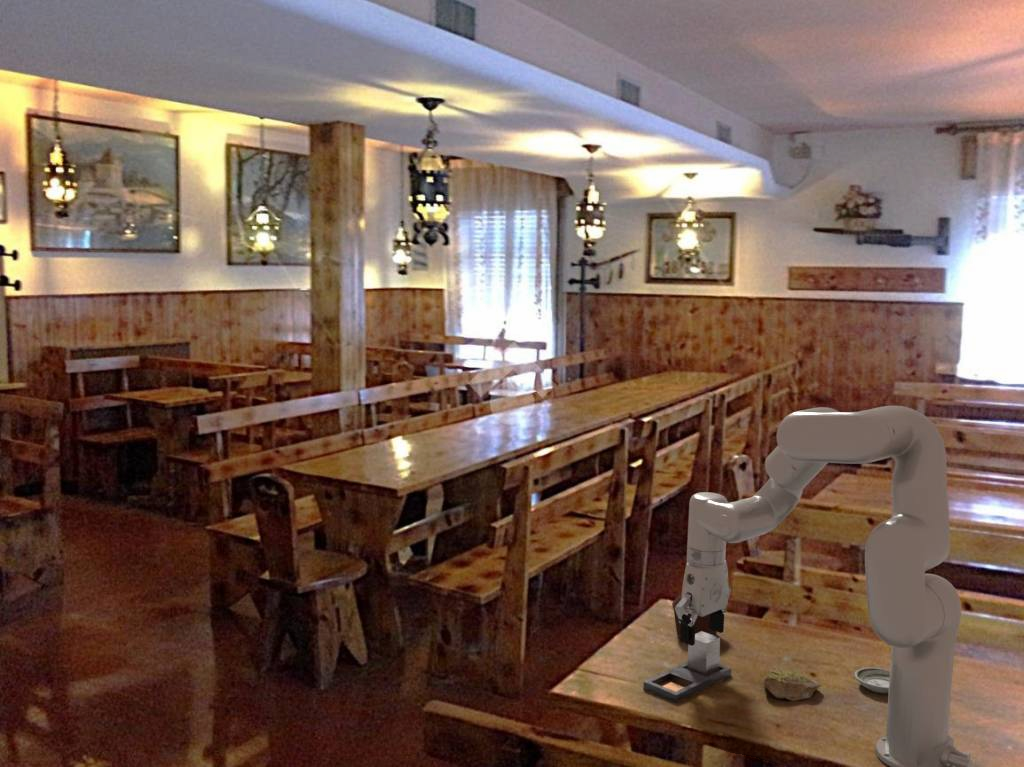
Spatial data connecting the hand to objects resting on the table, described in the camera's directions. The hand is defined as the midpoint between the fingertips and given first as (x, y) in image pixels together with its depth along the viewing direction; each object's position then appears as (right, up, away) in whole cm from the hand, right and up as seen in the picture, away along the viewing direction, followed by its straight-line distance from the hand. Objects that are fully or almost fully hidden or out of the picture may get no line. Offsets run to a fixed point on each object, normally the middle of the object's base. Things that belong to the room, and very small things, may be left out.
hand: (701, 636), depth 193 cm
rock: (+16, -9, -6) cm, 20 cm away
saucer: (+34, -9, -5) cm, 36 cm away
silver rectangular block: (0, -8, +1) cm, 8 cm away
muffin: (+3, -5, +22) cm, 23 cm away
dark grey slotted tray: (-3, -8, -3) cm, 9 cm away
